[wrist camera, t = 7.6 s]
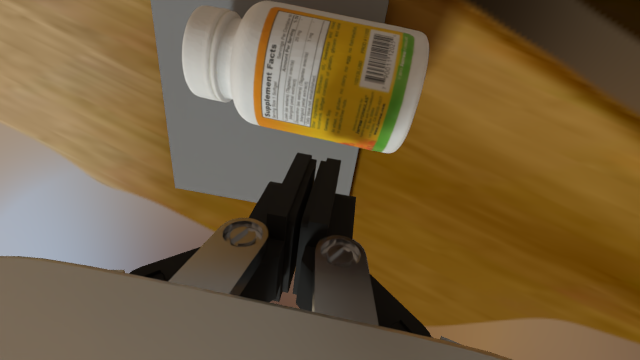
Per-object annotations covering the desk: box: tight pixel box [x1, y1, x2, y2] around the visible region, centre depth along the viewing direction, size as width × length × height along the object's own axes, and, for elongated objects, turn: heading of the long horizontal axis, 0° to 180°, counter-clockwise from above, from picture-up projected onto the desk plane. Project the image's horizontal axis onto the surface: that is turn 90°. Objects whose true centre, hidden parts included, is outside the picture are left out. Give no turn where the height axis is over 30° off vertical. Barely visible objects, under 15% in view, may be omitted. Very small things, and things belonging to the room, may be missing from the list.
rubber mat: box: [151, 0, 389, 202], centre depth 19 cm, size 12×13×1 cm
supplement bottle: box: [182, 1, 429, 153], centre depth 14 cm, size 5×5×10 cm
